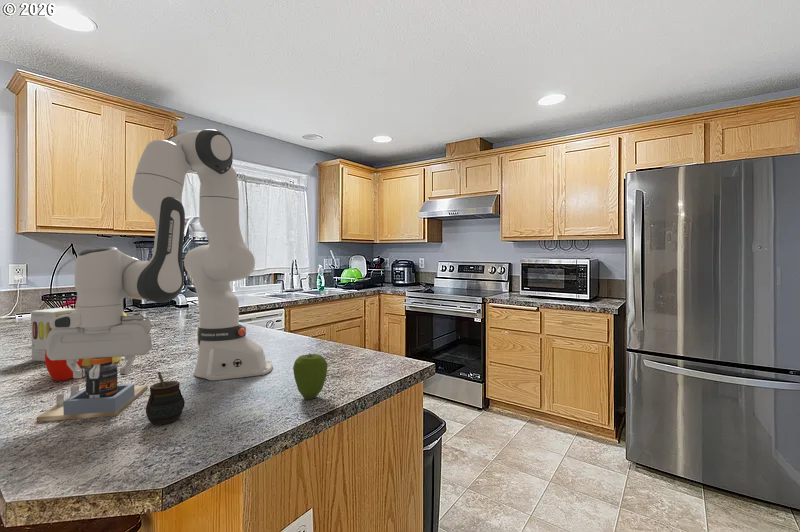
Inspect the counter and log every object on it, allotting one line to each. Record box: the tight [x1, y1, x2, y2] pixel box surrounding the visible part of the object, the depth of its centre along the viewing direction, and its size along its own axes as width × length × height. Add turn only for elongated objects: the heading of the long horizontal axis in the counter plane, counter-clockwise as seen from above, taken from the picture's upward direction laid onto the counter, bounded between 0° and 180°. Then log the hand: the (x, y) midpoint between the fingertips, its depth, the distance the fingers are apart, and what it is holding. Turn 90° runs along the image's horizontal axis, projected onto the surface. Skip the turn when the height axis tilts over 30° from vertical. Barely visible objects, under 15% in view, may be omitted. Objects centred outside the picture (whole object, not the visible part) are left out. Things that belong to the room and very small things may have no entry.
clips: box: [55, 384, 81, 407], centre depth 96 cm, size 5×8×2 cm, turn 13°
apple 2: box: [292, 352, 328, 400], centre depth 101 cm, size 9×8×12 cm
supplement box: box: [30, 307, 76, 362], centre depth 139 cm, size 10×9×17 cm
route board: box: [36, 385, 148, 423], centre depth 96 cm, size 15×18×1 cm
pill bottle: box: [85, 357, 118, 399], centre depth 93 cm, size 6×6×11 cm
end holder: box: [63, 383, 135, 415], centre depth 93 cm, size 10×10×3 cm
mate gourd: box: [145, 371, 186, 426], centre depth 87 cm, size 7×8×10 cm
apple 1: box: [44, 351, 83, 382], centre depth 115 cm, size 9×9×11 cm
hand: (102, 376), depth 93 cm, fingers open, 8 cm apart
